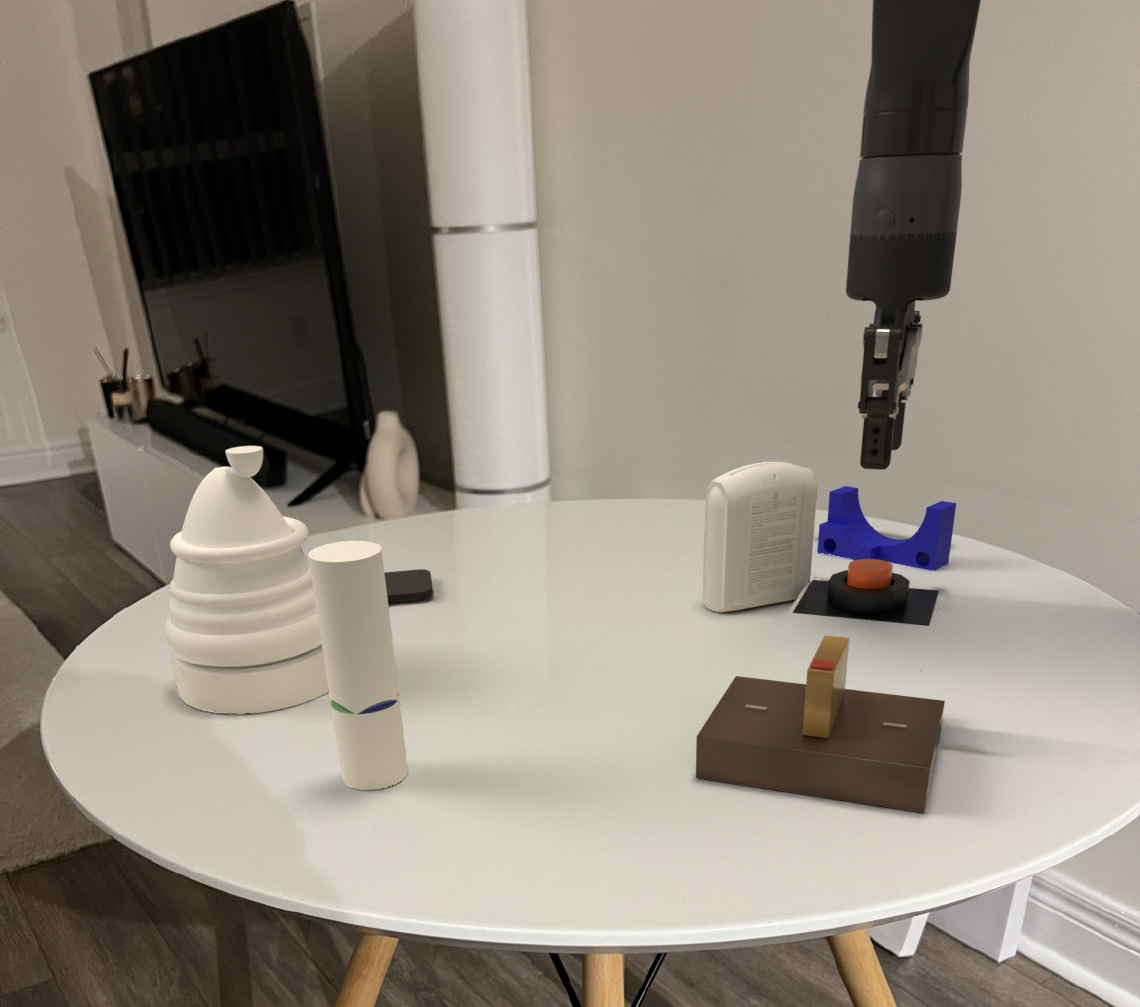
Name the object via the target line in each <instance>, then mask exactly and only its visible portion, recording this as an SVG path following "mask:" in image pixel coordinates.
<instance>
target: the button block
mask: <svg viewBox="0 0 1140 1007" xmlns="http://www.w3.org/2000/svg"><path fill="white" fill-rule="evenodd" d="M847 577H848V569H846V570H845V569H844V570H842V571H838V572H836V573H833V574H831V576H830V577H829V579H828V580H821V579H820V580H819V579H812V580H810V582H809V585H808V586H807V588H806V590H805V591H804V593H803V594H802V596H801V597H800V599H799V601H798V602H797V604H796V606H795V607H794V609H793V611H792V614H797V615H798V614H799V615H809V616H810V615H811V616H819V617H820V616H821V617H830V618H840V619H853V620H863V621H870V622H871V621H873V622H882V623H893V624H903V625H914V626H925V627H929V626H930V624H931V620H932V617H933V613H934V610H935V606H936V603H937V599H938V597H939V593H940V591H939V590H937V589H927V588H915V587H914V588H913V587H910V585H911V580H909V579H908V578H906V577H905V576H904V575H903V574H900V573H897V572H896V573H895V572H892V579H891V586H889V587H887V588H878V589H867V588H857V587H854V586H850V585H848V584H847Z"/></svg>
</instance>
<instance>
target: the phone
mask: <svg viewBox="0 0 1140 1007" xmlns="http://www.w3.org/2000/svg"><path fill="white" fill-rule="evenodd" d="M384 573H385V582H386V590H387V598H388V603H395V602H405V601H407V602H408V601H416V600H417V601H418V600H425V599H429V598H431V597H433V595H434V587H433V581H432V574H431V571H430V570H429V569H423V568H421V569H419V568H418V569H407V570H396V571H395V570H394V571H384Z"/></svg>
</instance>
